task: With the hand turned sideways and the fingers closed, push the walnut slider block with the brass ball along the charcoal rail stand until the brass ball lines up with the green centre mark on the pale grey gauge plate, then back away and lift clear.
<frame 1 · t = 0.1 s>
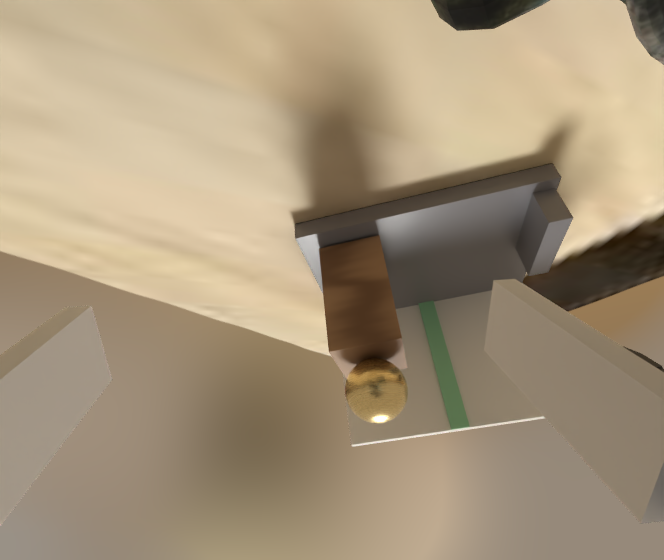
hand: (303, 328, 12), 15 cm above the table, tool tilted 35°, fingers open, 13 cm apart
slider: (366, 332, 29), point 8 cm above the table, slide at -6.0 cm
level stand: (419, 231, 33), on the table
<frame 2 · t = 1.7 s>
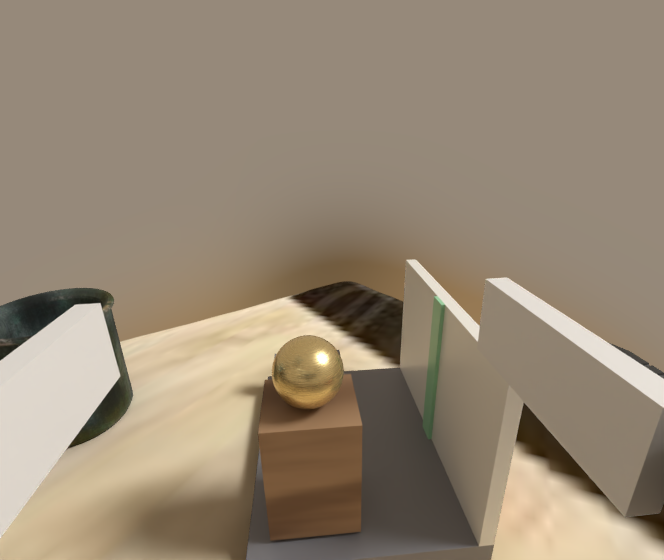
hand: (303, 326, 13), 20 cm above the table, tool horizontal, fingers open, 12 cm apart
mug: (78, 426, 37), on the table
slider: (310, 429, 25), point 8 cm above the table, slide at -6.0 cm
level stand: (312, 454, 33), on the table
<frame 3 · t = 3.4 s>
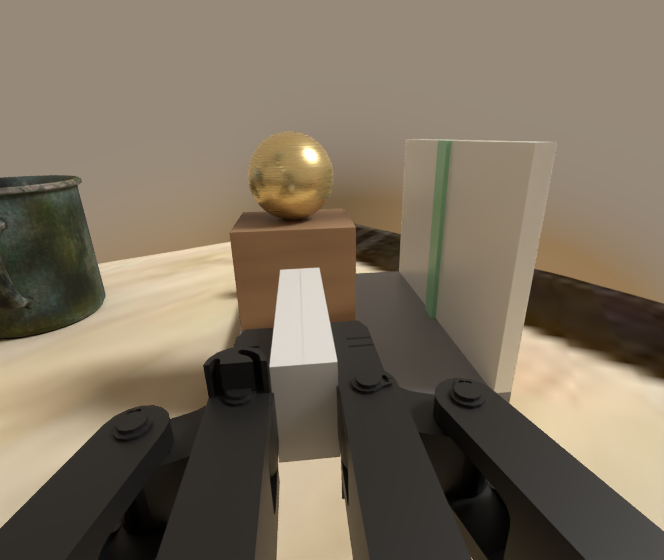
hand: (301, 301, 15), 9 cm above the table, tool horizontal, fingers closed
mug: (42, 322, 34), on the table
slider: (295, 259, 21), point 8 cm above the table, slide at -6.0 cm
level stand: (301, 338, 30), on the table
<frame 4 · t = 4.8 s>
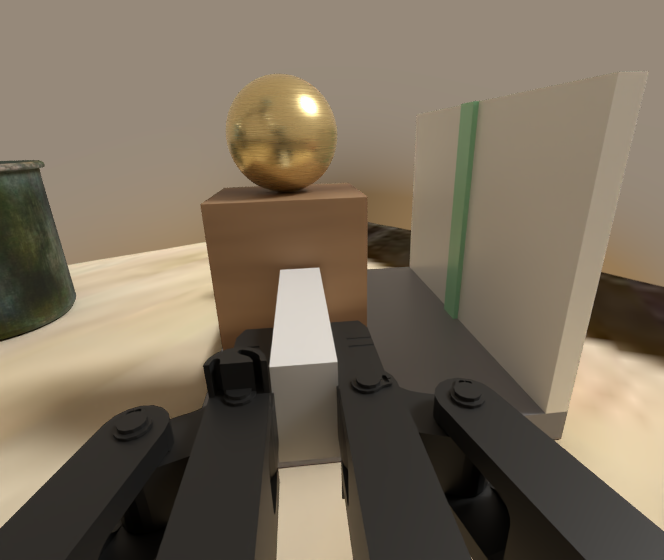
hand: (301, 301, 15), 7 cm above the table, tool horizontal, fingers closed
mug: (0, 329, 29), on the table
slider: (290, 244, 17), point 8 cm above the table, slide at -5.8 cm, touching gripper
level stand: (299, 344, 25), on the table
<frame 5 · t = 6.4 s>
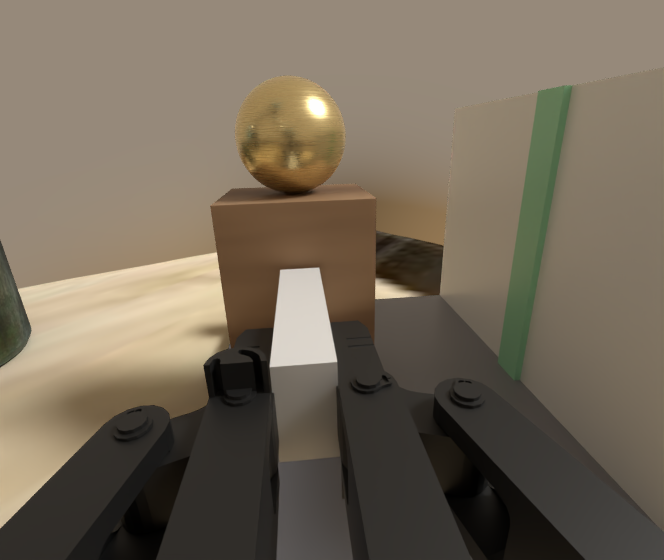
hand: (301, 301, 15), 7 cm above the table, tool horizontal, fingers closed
slider: (297, 245, 17), point 9 cm above the table, slide at 0.9 cm, touching gripper
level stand: (308, 412, 19), on the table
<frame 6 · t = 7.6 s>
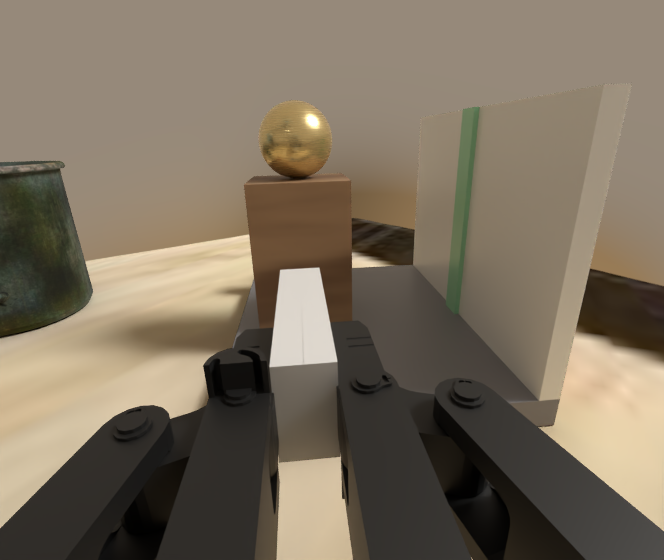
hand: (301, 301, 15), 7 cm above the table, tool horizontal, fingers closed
mug: (22, 321, 31), on the table
slider: (300, 215, 24), point 9 cm above the table, slide at 0.9 cm
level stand: (307, 337, 26), on the table
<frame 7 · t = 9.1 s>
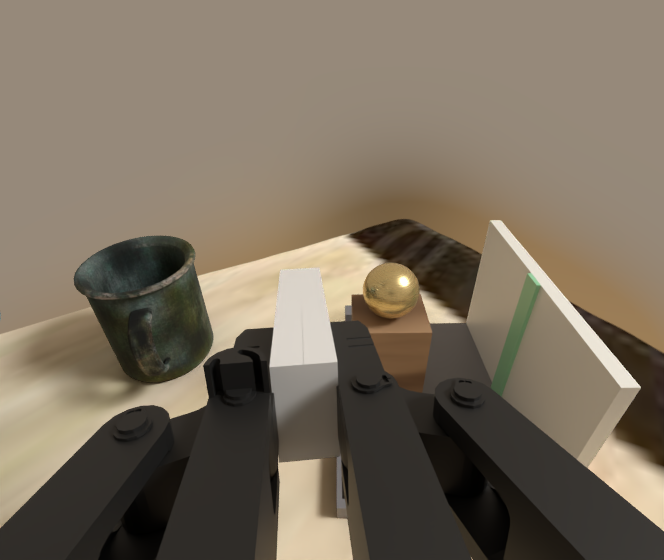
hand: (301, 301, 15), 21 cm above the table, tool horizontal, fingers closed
mug: (170, 361, 42), on the table
slider: (387, 333, 32), point 8 cm above the table, slide at 0.9 cm
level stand: (383, 404, 36), on the table
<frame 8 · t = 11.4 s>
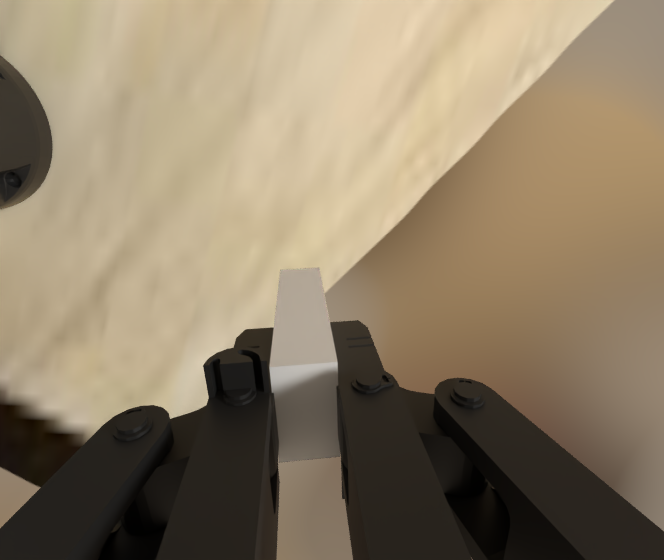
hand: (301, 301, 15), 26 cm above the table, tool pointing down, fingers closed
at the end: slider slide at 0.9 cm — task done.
